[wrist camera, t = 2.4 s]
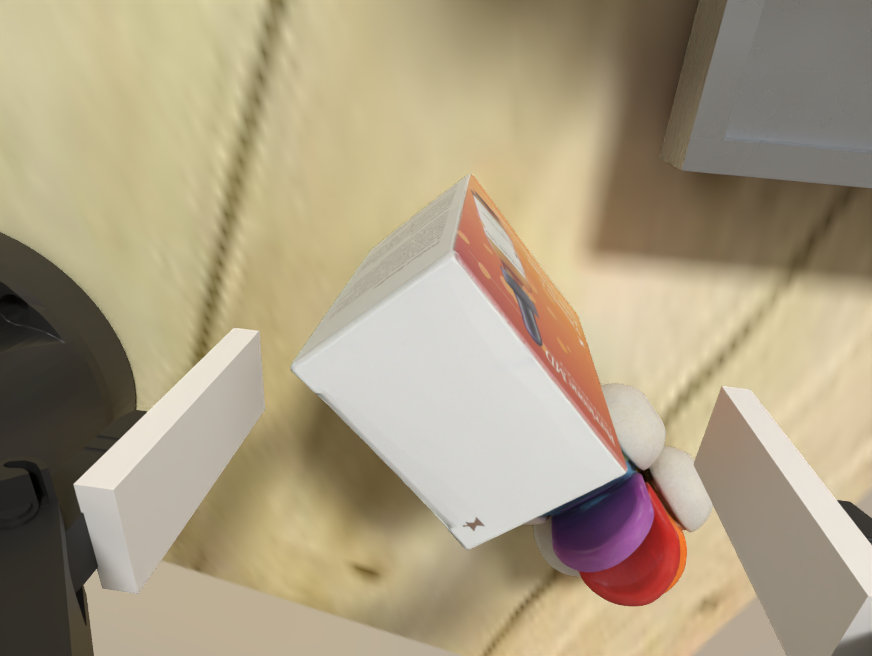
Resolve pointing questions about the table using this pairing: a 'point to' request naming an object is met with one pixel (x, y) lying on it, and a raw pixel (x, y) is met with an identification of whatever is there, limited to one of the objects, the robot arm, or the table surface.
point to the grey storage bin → (776, 92)
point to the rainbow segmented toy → (629, 512)
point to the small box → (465, 371)
